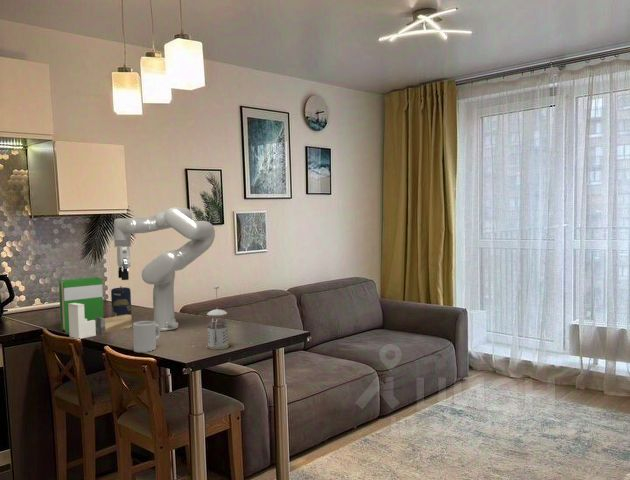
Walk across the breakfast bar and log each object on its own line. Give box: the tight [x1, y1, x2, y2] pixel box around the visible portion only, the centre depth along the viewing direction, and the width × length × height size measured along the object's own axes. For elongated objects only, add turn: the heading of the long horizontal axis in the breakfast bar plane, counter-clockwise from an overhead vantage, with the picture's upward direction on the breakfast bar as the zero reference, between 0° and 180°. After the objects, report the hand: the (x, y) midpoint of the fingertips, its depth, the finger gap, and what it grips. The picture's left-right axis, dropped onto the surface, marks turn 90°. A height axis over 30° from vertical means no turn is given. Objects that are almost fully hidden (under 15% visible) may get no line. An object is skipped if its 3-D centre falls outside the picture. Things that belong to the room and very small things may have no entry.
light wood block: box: [96, 314, 133, 334], centre depth 257 cm, size 4×16×7 cm, turn 143°
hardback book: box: [58, 276, 104, 334], centre depth 261 cm, size 18×7×24 cm, turn 131°
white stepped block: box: [68, 303, 97, 340], centre depth 244 cm, size 8×8×15 cm
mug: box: [132, 320, 161, 353], centre depth 218 cm, size 12×8×11 cm
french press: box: [206, 285, 229, 347], centre depth 218 cm, size 10×12×25 cm
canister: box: [110, 285, 133, 318], centre depth 279 cm, size 10×10×18 cm
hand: (123, 278), depth 263 cm, fingers open, 9 cm apart
